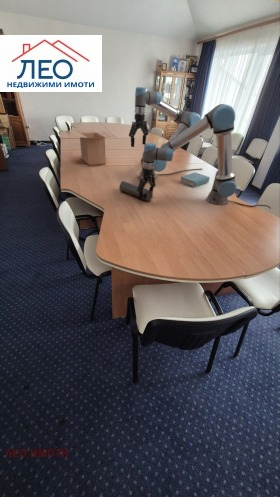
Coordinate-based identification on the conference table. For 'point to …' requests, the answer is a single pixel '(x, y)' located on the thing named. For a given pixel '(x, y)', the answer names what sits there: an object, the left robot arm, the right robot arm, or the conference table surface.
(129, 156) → the conference table surface
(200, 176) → the book
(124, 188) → the rod
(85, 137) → the box
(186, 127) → the left robot arm
